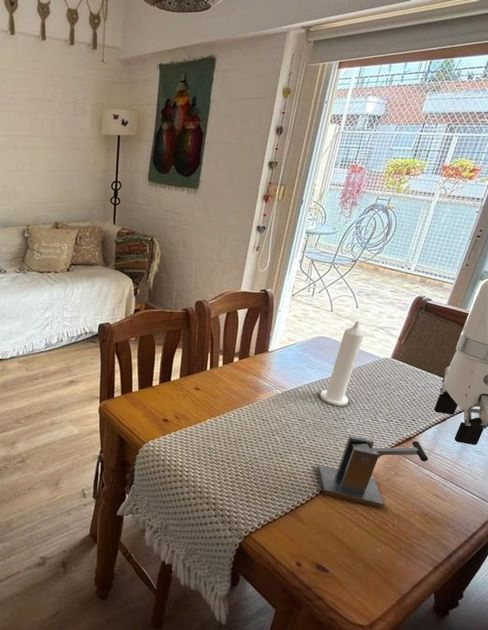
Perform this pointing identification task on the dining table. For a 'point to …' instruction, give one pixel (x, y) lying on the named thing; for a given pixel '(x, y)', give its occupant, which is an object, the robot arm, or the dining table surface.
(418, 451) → the press lever
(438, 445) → the dining table surface
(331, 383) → the candle
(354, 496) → the press bracket
